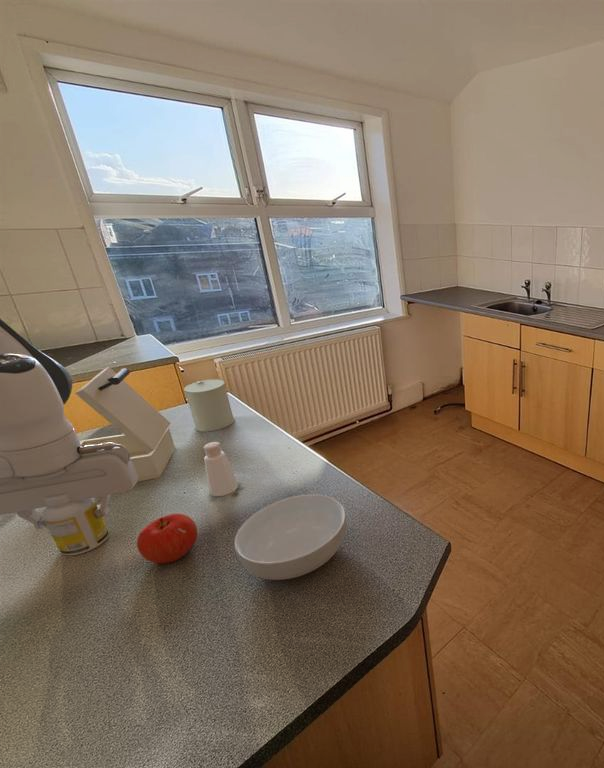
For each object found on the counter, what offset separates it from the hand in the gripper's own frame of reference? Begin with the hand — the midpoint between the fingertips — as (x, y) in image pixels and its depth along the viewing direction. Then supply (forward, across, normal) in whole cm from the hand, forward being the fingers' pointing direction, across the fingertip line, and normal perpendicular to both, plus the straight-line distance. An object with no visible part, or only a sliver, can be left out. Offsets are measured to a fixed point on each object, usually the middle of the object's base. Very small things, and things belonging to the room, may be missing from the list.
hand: (74, 520), depth 75 cm
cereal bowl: (+5, -35, +18) cm, 40 cm away
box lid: (-9, -2, -26) cm, 28 cm away
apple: (+5, -15, +9) cm, 18 cm away
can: (+5, -13, -44) cm, 46 cm away
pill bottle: (+5, 0, 0) cm, 5 cm away
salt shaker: (+5, -20, -9) cm, 23 cm away
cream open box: (+5, +2, -26) cm, 27 cm away
